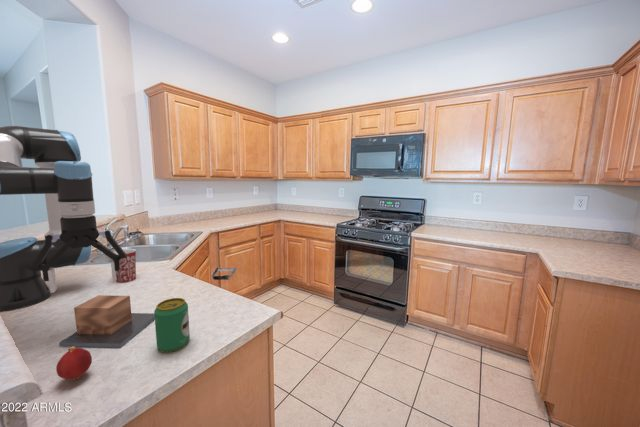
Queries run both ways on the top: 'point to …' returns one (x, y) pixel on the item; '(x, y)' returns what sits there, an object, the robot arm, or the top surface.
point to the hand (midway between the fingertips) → (85, 285)
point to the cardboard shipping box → (102, 314)
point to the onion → (74, 363)
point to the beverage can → (172, 324)
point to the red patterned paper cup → (127, 267)
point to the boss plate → (114, 339)
